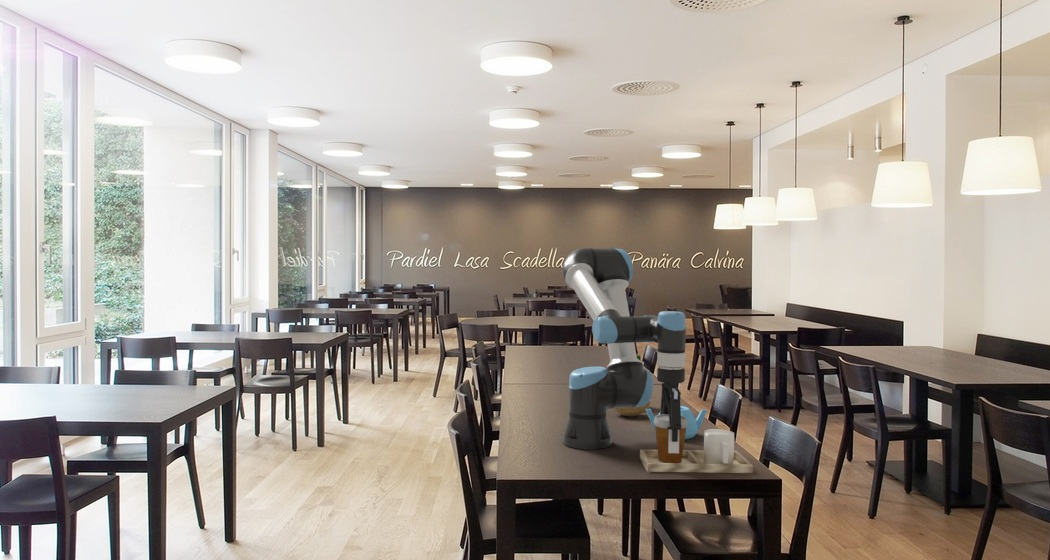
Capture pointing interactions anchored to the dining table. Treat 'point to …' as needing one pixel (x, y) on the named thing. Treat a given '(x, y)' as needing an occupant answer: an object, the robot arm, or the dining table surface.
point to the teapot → (692, 422)
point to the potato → (632, 410)
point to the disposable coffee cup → (663, 438)
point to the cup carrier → (693, 463)
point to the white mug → (718, 446)
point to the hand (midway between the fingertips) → (669, 447)
